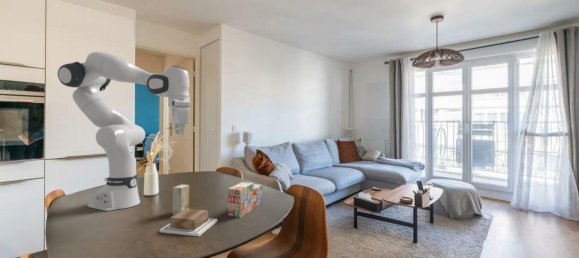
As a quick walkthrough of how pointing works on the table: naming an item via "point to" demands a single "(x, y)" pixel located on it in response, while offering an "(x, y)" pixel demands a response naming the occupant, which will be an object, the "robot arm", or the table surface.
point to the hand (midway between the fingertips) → (179, 134)
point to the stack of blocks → (243, 198)
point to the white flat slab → (190, 232)
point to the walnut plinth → (189, 219)
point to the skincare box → (180, 198)
